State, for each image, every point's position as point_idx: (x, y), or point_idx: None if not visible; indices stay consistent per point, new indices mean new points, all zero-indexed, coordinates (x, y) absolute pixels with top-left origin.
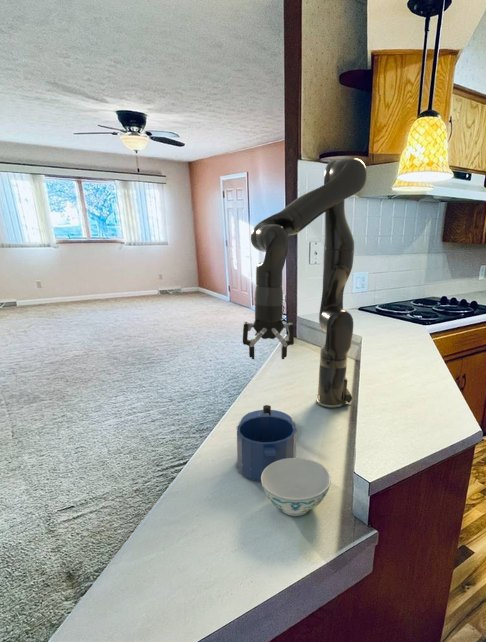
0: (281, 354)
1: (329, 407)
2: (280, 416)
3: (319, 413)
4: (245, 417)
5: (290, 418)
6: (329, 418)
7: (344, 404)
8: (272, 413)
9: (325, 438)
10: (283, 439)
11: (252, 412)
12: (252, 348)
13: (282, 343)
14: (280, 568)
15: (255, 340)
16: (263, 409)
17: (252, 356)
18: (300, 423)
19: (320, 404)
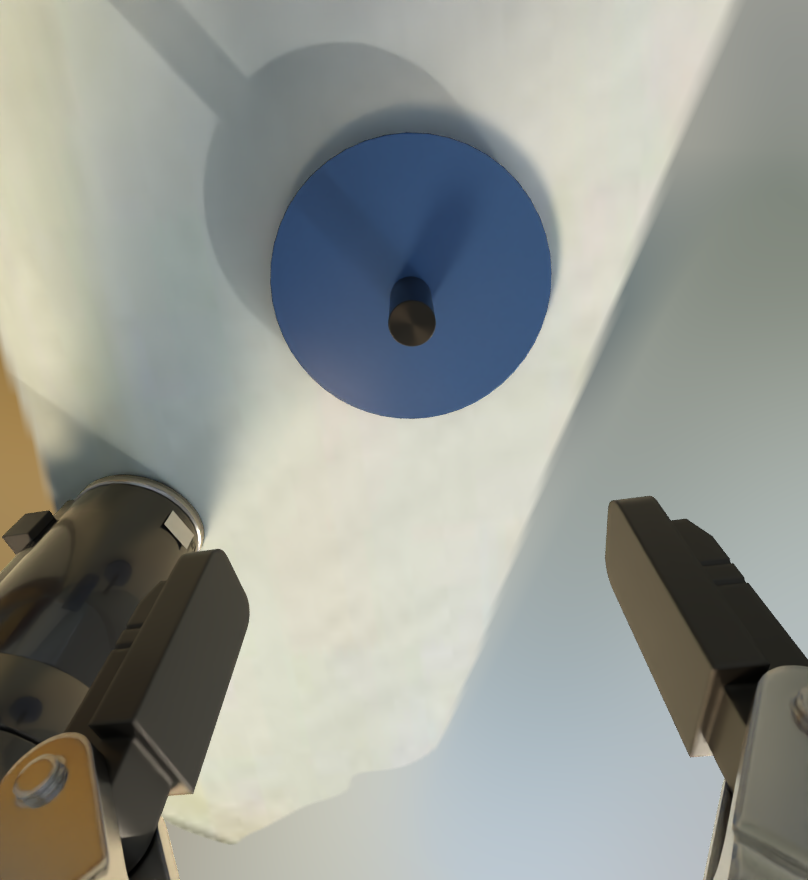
0: (231, 633)
1: (131, 476)
2: (344, 352)
3: (167, 423)
4: (526, 325)
5: (288, 334)
6: (105, 378)
7: (67, 503)
8: (389, 380)
9: (58, 141)
10: None
11: (491, 383)
12: (740, 639)
13: (80, 816)
14: None
15: (803, 868)
16: (432, 308)
17: (660, 521)
18: (238, 313)
19: (177, 496)
